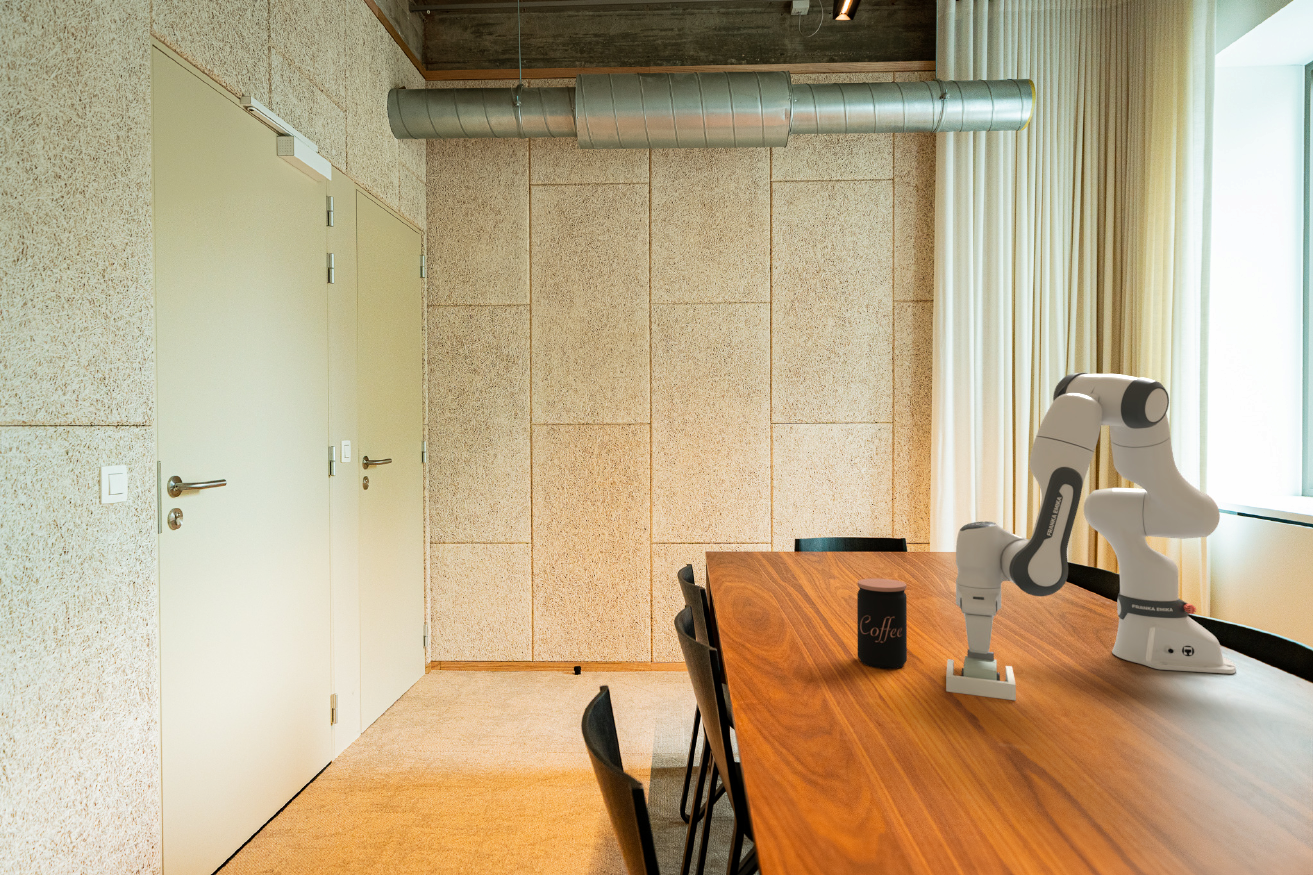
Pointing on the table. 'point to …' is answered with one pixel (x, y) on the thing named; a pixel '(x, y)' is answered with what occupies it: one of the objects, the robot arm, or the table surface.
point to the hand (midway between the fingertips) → (978, 663)
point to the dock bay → (981, 684)
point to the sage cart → (980, 666)
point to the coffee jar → (882, 623)
